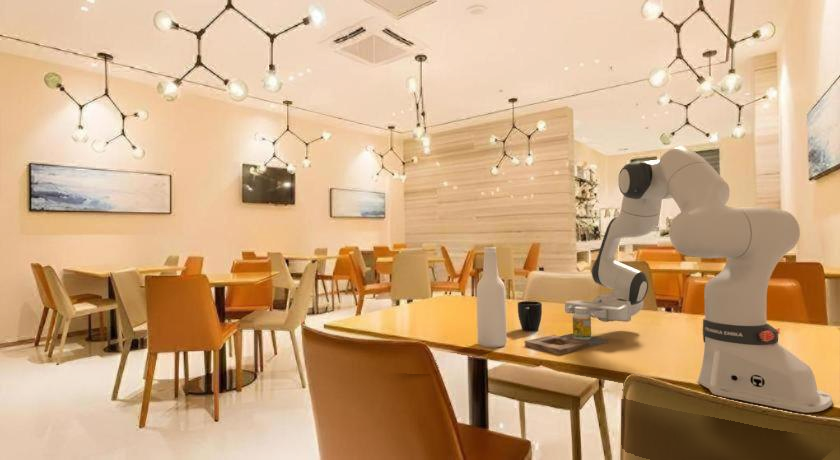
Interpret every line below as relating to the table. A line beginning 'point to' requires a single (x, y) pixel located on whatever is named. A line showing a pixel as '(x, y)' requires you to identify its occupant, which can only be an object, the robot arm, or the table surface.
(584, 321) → the supplement bottle
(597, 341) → the mat
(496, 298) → the alcohol
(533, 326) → the mug
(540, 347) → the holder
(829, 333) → the table surface
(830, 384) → the table surface
